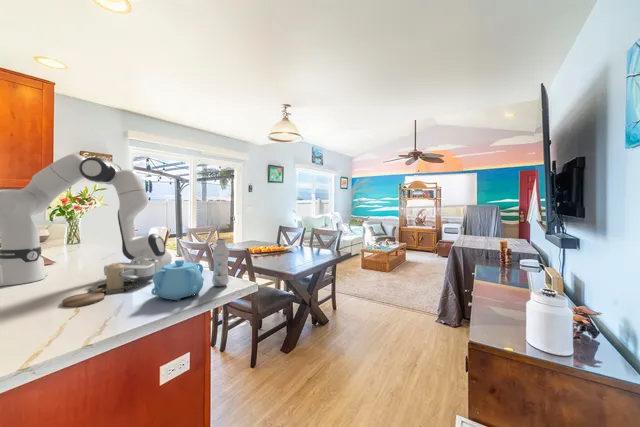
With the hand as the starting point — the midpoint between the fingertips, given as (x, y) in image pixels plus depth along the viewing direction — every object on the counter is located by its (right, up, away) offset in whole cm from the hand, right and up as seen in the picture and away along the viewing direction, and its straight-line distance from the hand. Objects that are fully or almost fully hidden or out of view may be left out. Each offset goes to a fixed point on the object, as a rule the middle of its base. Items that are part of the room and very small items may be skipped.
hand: (113, 274), depth 106 cm
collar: (0, -6, +1) cm, 6 cm away
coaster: (0, -6, -13) cm, 15 cm away
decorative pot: (+29, -7, -5) cm, 31 cm away
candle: (0, -6, +1) cm, 6 cm away
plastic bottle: (+40, -7, +7) cm, 42 cm away
